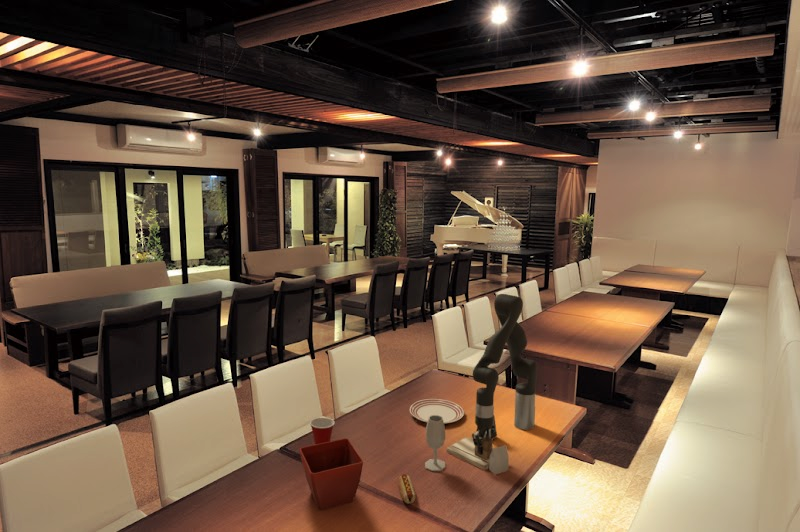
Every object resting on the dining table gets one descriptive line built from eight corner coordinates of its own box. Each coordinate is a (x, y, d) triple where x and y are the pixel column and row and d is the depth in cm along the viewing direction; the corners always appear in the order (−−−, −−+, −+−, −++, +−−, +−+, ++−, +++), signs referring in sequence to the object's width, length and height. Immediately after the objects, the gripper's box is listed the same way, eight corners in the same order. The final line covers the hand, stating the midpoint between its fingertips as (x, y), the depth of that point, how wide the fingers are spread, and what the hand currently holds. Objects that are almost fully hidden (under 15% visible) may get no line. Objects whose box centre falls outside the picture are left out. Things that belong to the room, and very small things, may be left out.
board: (466, 441, 223) (466, 436, 222) (504, 457, 208) (504, 453, 208) (446, 452, 213) (446, 447, 213) (484, 470, 199) (484, 465, 198)
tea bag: (508, 470, 199) (509, 447, 197) (494, 474, 196) (495, 451, 194) (502, 466, 202) (503, 443, 201) (489, 470, 199) (489, 447, 198)
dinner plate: (472, 412, 253) (472, 406, 252) (448, 433, 230) (448, 427, 229) (426, 400, 267) (426, 394, 267) (399, 419, 244) (399, 413, 244)
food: (418, 505, 177) (418, 492, 176) (403, 507, 176) (403, 494, 175) (410, 483, 190) (410, 471, 189) (396, 484, 189) (396, 472, 188)
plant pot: (311, 519, 169) (310, 473, 166) (300, 489, 186) (298, 447, 184) (364, 505, 176) (364, 461, 174) (348, 477, 194) (347, 437, 191)
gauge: (477, 450, 211) (477, 432, 210) (492, 456, 205) (492, 438, 204) (471, 453, 208) (472, 435, 207) (486, 460, 203) (486, 442, 201)
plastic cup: (340, 446, 217) (339, 421, 215) (320, 456, 209) (320, 429, 208) (324, 438, 225) (324, 413, 223) (305, 447, 217) (304, 421, 215)
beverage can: (496, 441, 222) (497, 416, 220) (480, 440, 224) (481, 415, 222) (496, 435, 228) (497, 410, 227) (480, 433, 230) (481, 409, 228)
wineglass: (448, 462, 204) (448, 415, 201) (442, 474, 196) (443, 424, 193) (427, 459, 207) (428, 412, 204) (421, 470, 199) (422, 421, 196)
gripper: (487, 405, 211) (486, 442, 213) (466, 415, 201) (465, 454, 204) (501, 411, 206) (500, 449, 208) (481, 421, 196) (480, 461, 198)
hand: (483, 451), depth 206 cm, fingers closed on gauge, 4 cm apart
